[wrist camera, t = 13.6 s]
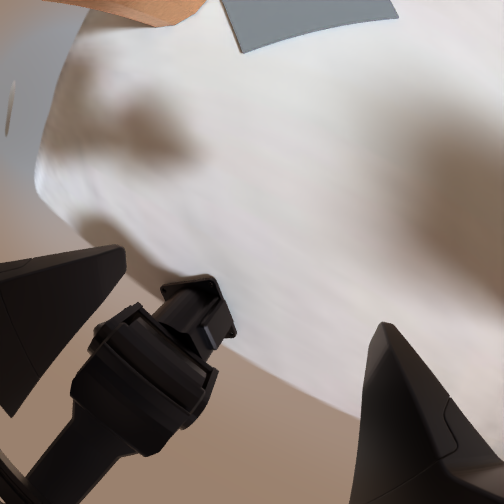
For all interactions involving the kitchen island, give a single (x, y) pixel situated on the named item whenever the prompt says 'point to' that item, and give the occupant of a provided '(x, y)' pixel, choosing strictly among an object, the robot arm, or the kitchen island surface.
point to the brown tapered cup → (143, 9)
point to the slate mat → (298, 17)
